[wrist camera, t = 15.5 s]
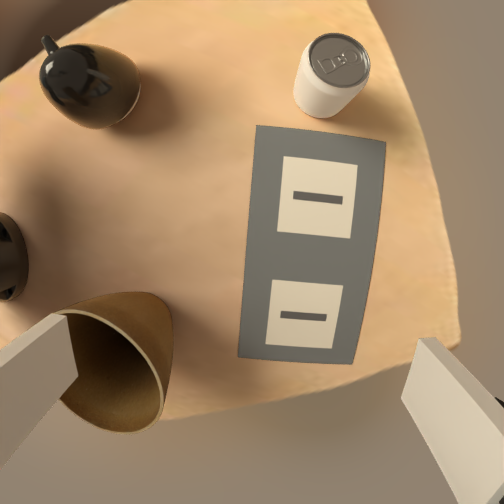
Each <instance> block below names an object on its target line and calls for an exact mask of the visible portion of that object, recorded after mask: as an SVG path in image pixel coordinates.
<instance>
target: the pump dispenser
mask: <svg viewBox="0 0 504 504" xmlns="http://www.w3.org/2000/svg"><path fill="white" fill-rule="evenodd" d="M41 41H42V43H43V45H44V47H45V49H46V51H47V53H48V56H47V58H46V59H45V60H44V62H43V64H42V66H41V68H40V72H39V81H40V85H41V88H42V91H43V93H44V95H45V96H46V98H47V99H48V100H49V102H50V103H51V104H52V105H53V106H54V107H55V108H56V109H57V110H58V111H59V112H60V113H61V114H63V115H64V116H65V117H67V118H68V119H69V120H71V121H73V122H74V123H76V124H78V125H80V126H82V127H85V128H89V129H103V128H107V127H109V126H112V125H114V124H115V123H118V122H119V121H121V120H122V119H124V118H125V117H126V116H127V115H128V114H129V113H130V112H131V111H132V110H133V108H134V107H135V105H136V103H137V101H138V98H139V95H140V88H141V84H140V74H139V70H138V68H137V66H136V64H135V63H134V62H133V61H132V60H131V59H130V58H129V57H127V56H126V55H124V54H122V53H120V52H118V51H116V50H113V49H111V48H108V47H104V46H100V45H95V44H85V43H77V44H69V45H66V46H63V47H61V48H59V46H58V45H57V44H56V43H55V41H54V40H53V39H52V37H51V36H50V35H45V36H44V37H43V38H42V40H41Z"/></svg>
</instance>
